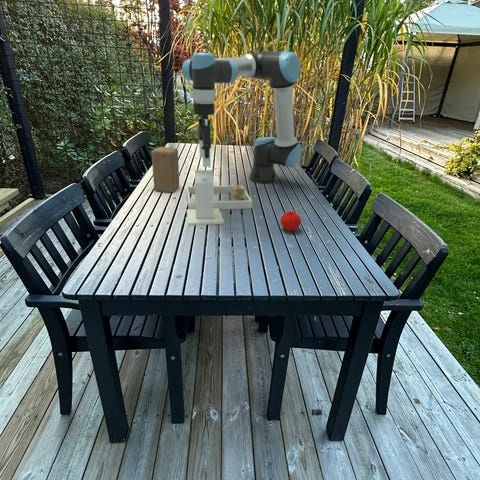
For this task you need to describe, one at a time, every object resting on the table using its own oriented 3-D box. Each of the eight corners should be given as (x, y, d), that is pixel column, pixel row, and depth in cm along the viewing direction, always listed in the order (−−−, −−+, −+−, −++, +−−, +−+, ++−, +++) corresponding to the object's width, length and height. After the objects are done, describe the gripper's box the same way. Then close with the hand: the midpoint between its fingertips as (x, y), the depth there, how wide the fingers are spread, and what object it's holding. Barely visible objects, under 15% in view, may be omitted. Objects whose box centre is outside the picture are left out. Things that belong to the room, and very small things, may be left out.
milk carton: (195, 211, 142) (195, 167, 133) (212, 211, 143) (213, 167, 134) (195, 218, 136) (194, 172, 127) (213, 218, 137) (213, 172, 128)
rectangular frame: (241, 192, 170) (242, 185, 168) (251, 208, 151) (252, 201, 149) (186, 193, 165) (185, 186, 163) (188, 210, 146) (188, 203, 144)
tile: (218, 210, 147) (218, 208, 147) (223, 223, 135) (223, 221, 135) (186, 211, 145) (186, 209, 144) (188, 225, 132) (188, 223, 132)
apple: (278, 224, 137) (280, 207, 133) (298, 225, 137) (300, 208, 133) (280, 233, 130) (282, 215, 126) (300, 234, 129) (303, 216, 126)
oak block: (240, 201, 158) (241, 185, 154) (244, 205, 154) (245, 188, 150) (230, 202, 156) (230, 186, 153) (234, 206, 152) (234, 189, 149)
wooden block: (172, 193, 164) (170, 152, 155) (153, 191, 165) (150, 150, 156) (180, 187, 173) (178, 147, 163) (161, 185, 174) (159, 146, 165)
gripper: (190, 98, 129) (192, 153, 139) (196, 106, 108) (197, 171, 118) (210, 98, 131) (210, 153, 141) (219, 106, 109) (219, 170, 119)
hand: (204, 161), depth 129 cm, fingers open, 13 cm apart
